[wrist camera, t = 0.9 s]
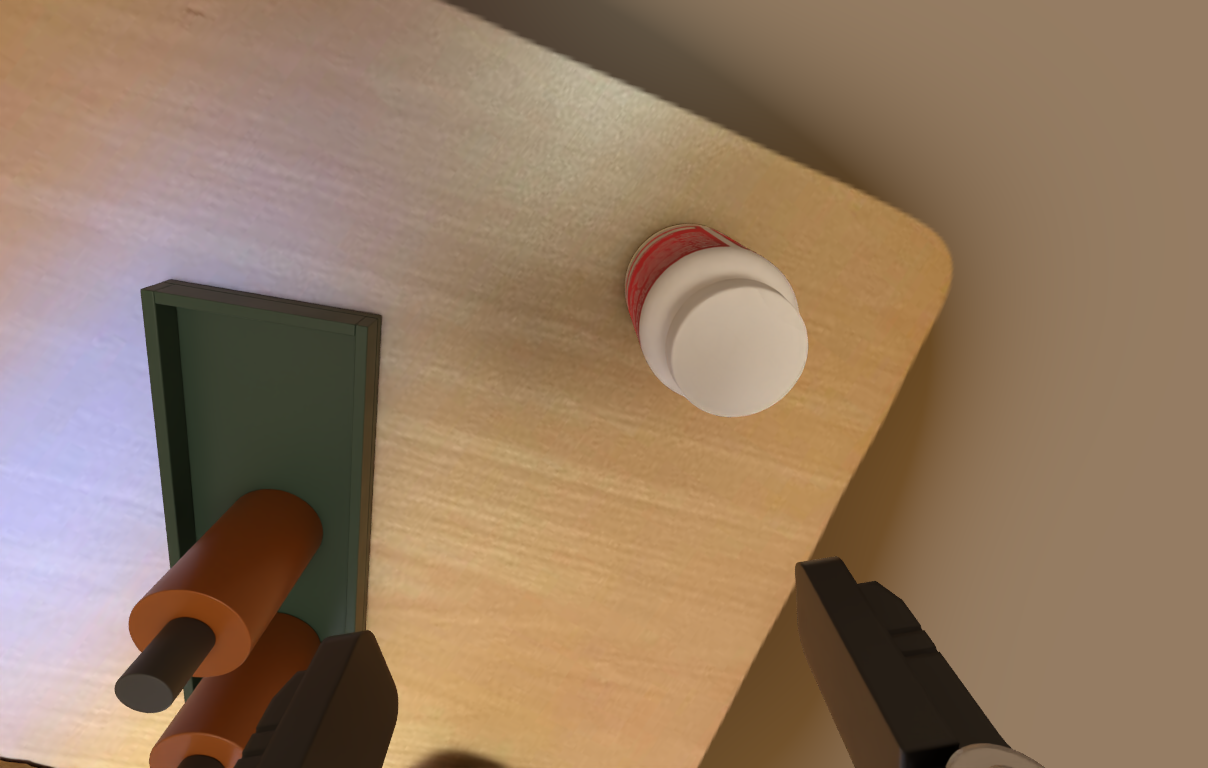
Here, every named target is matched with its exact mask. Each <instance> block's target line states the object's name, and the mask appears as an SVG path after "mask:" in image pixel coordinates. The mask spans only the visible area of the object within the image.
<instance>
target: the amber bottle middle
mask: <svg viewBox="0 0 1208 768" xmlns="http://www.w3.org/2000/svg"><path fill="white" fill-rule="evenodd" d="M322 538H323V528H322V524H321V521H320V519H319V517H318V515H317V513H316V512H315V511H314V509H313V508H312V507H311V506H310V505H309V504H307V503H306V502H305V501H304V500H302V499H301V498H299V497H297V496H295V495H293V494H291V493H288V492H285V491H281V490H275V489H262V490H256V491H252V492H250V493H247V494H245V495H243V496H242V497H241V498H239V499H238V500H237V501H236V502H235V503H234V504H233V505H232V506H231V507H230V508H229V509H228V510H227V511H226V512H225V513H224V514H223V515H222V516H221V517H220V519H219V520H218V521H217V522H216V523H215V524H214V525H213V526H212V527H211V528H210V529H209V530H208V531H207V532H206V533H205V534H204V535H203V536H202V537H201V538H200V539H199V540H198V541H197V542H196V543H195V544H194V545H193V546H192V547H191V548H190V549H189V550H188V551H187V552H186V554H185V555H184V556H183V557H182V558H181V559H180V560H179V561H178V562H177V563H176V564H175V565H174V566H173V567H172V568H171V569H170V570H169V571H168V572H167V573H166V574H165V575H164V576H163V577H162V578H161V579H160V580H159V581H158V582H157V583H156V584H155V585H154V586H153V587H152V589H151V590H150V591H149V592H148V593H147V594H146V595H145V596H144V597H143V598H142V599H141V600H140V601H139V602H138V603H137V604H136V605H135V606H134V608H133V610H132V611H131V614H130V617H129V631H130V635H131V637H132V640H133V642H134V643H135V645H136V646H137V648H138V649H139V650H140V651H141V652H142V653H141V654H140V655H139V656H138V658H137V659H136V660H135V661H134V662H133V663H132V664H131V666H130V667H129V668H128V669H127V670H126V671H125V673H124V674H123V675H122V676H121V677H120V678H119V679H118V681H117V682H116V685H115V694H116V696H117V698H118V699H119V700H120V701H121V702H122V703H123V704H124V705H126V706H127V707H129V708H131V709H133V710H136V711H139V712H144V713H156V712H161V711H163V710H165V709H167V708H168V707H169V706H170V705H171V704H172V703H173V701H174V700H175V699H176V697H177V696H178V695H179V693H180V692H181V691H182V689H183V688H184V686H185V685H186V684H187V682H188V681H189V680H190V678H191V677H214V676H219V675H223V674H226V673H229V672H231V671H233V670H235V669H236V668H238V667H239V666H240V665H241V664H242V663H243V662H244V661H245V660H246V659H247V657H248V656H249V654H250V653H251V651H252V650H253V648H254V646H255V645H256V643H257V642H258V640H259V639H260V637H261V636H262V634H263V633H264V631H265V630H266V628H267V627H268V625H269V623H270V622H271V620H272V619H273V617H274V616H275V614H276V613H277V611H278V610H279V608H280V607H281V605H282V603H283V602H284V600H285V599H286V597H287V596H288V594H289V593H290V591H291V590H292V588H293V587H294V585H295V583H296V582H297V580H298V579H299V577H300V576H301V574H302V573H303V571H304V570H305V568H306V567H307V565H308V564H309V562H310V560H311V559H312V557H313V556H314V554H315V553H316V551H317V550H318V548H319V546H320V544H321V542H322Z"/></svg>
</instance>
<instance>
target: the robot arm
mask: <svg viewBox="0 0 1208 768" xmlns="http://www.w3.org/2000/svg"><path fill="white" fill-rule="evenodd" d="M795 578H796V599H797V620H798V630H799V636H800V640H801V644H802V648H803V651H804V654H805V656H806V659H807V662H808V664H809V666H810V668H811V670H812V673H813V675H814V677H815V679H816V682H817V684H818V686H819V689H820V691H821V693H822V695H823V697H824V700H825V702H826V704H827V706H828V708H829V711H830V713H831V715H832V717H833V720H834V722H835V724H836V726H837V729H838V731H839V733H840V735H841V737H842V740H843V742H844V744H845V746H846V749H847V751H848V753H849V755H850V758H851V760H852V762H853V764H854V767H855V768H1045V767H1043V766H1042V765H1041V764H1039V763H1038V762H1036V761H1035V760H1033V759H1031V758H1030V757H1028V756H1026V755H1024V754H1022V753H1020V752H1018V751H1016V750H1013V749H1012V748H1011V747H1010V746H1009V745H1008V744H1007V743H1006V742H1005V741H1004V740H1003V738H1002V737H1001V736H1000V735H999V733H998V732H997V730H996V729H995V728H994V726H993V725H992V724H991V722H990V721H989V719H988V718H987V717H986V716H985V714H984V712H983V711H982V710H981V708H980V707H979V706H978V704H977V703H976V701H975V700H974V699H973V697H972V696H971V694H970V693H969V692H968V690H967V689H966V687H965V686H964V685H963V683H962V682H961V681H960V679H959V678H958V676H957V675H956V674H955V672H954V671H953V670H952V668H951V667H950V666H949V664H948V663H947V661H946V660H945V658H944V657H943V656H942V654H941V653H940V652H938V651H937V650H936V646H935V645H934V643H933V642H932V640H931V639H930V638H929V636H928V635H927V633H926V632H925V631H924V630H922V629H921V625H920V624H919V622H918V621H917V620H916V618H915V617H914V615H913V614H912V613H911V611H910V610H909V608H908V607H907V606H906V604H905V603H904V602H903V600H902V599H900V598H899V597H897V596H896V595H895V594H893V593H892V592H890V591H889V590H888V589H886V588H885V587H883V586H882V585H881V584H879V583H878V582H876V581H872V582H866V583H860V584H857V583H856V581H855V580H854V578H853V577H852V575H851V573H850V572H849V570H848V569H847V567H846V565H845V564H844V562H843V561H842V560H841V559H840V558H839V557H837V556H835V557H829V558H823V559H817V560H810V561H804V562H798V563H796V566H795ZM397 715H398V694H397V689H396V686H395V683H394V681H393V678H392V676H391V674H390V671H389V669H388V667H387V664H386V662H385V659H384V657H383V655H382V652H381V650H380V648H379V645H378V643H377V641H376V638H375V636H374V635H373V633H372V632H371V631H368V630H365V631H359V632H353V633H347V634H340V635H334V636H329V637H326V638H325V639H324V640H323V641H322V642H321V644H320V645H319V647H318V649H317V651H316V653H315V655H314V657H313V659H312V661H311V663H310V665H309V666H308V668H307V670H303V671H297V672H296V673H295V674H294V676H293V677H292V678H291V679H290V680H289V681H288V682H287V683H286V684H285V685H284V686H283V687H282V688H281V689H280V691H279V692H278V693H277V694H276V695H275V696H274V697H273V698H272V700H271V701H270V703H269V705H268V707H267V709H266V710H265V712H264V714H263V716H262V718H261V719H260V721H259V723H258V725H257V727H256V733H254V734H252V735H251V737H250V739H249V741H248V743H247V744H246V746H245V748H244V750H243V752H242V758H241V759H238V761H237V762H236V764H235V766H234V768H382V766H383V763H384V759H385V756H386V753H387V750H388V747H389V744H390V741H391V737H392V734H393V731H394V728H395V725H396V721H397Z"/></svg>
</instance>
